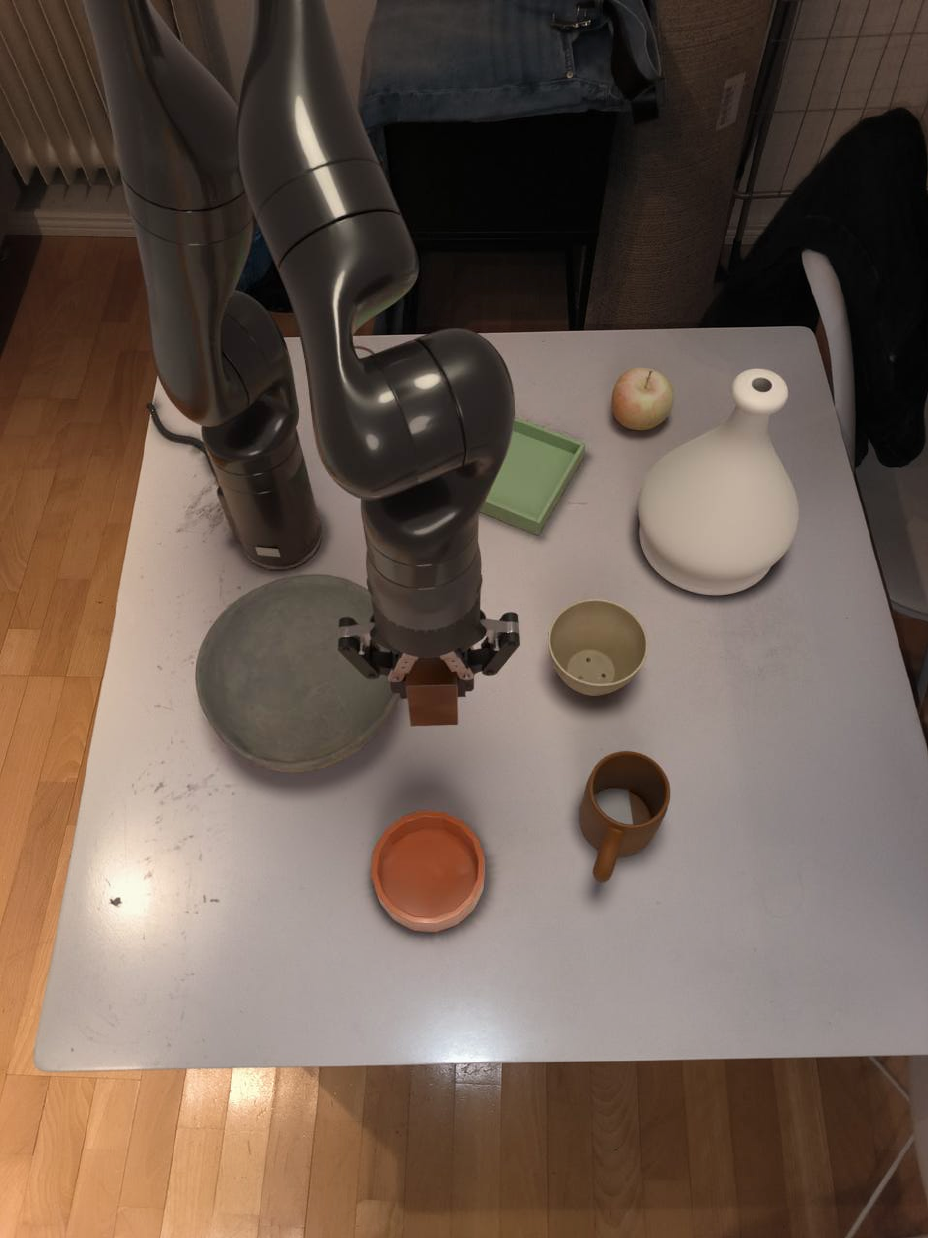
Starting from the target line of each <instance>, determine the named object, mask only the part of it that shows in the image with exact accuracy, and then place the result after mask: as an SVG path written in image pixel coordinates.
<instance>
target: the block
mask: <svg viewBox="0 0 928 1238" xmlns="http://www.w3.org/2000/svg"><path fill="white" fill-rule="evenodd" d="M406 693H407V699H406V700H407V709H408V717H409V724H410V727H437V726H439V727H440V726H441V727H442V726H458V725H459V699H458V698H459V697H458V684H457V674H456V672H451V670H450V668H449V667H448V665H447V664H446V662H445V661H444V660H437V659H426V660H416V661H415V662H414V664H413V666H412V668H411V670H410V672H409V674H408V673H406Z"/></svg>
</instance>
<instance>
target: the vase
mask: <svg viewBox="0 0 928 1238" xmlns="http://www.w3.org/2000/svg"><path fill="white" fill-rule="evenodd" d="M730 395H731V398H732V401H733V402H734V404H735V406H734V408H733V410H732V412H731V414H730V415H729V416H728V418H727V419H726V420H725V421H724V422H723V423H721V424H720V425H718V426H717V427H715V428H712V429H710V430H709V431H707V432H705V433H703V434H701V435H699V436H696V437H695V438H692V439H690V440H689V441H686V442H684V443H683V444H681V445H679V446H678V447H675V448H674V449H672V450H671V451H669V452H668V453H666V454H664V456H662V457H661V458H659V460H658V461H657V462H656V463H654V465H653V466H652V467H651V469H650V470H649V471H648V472H647V474H646V476H645V477H644V479H643V482H642V483H641V487H640V490H639V492H638V498H637V499H638V500H637V512H638V513H637V514H638V520H639V530H638V534H639V542H640V547H641V550H642V552H643V554H644V556H645V558H646V560H647V561H648V563H649V564H650V566H651V567H652V568H653V569H654V571H656V572H657V573H658V574H659V576H661V577H662V578H664V579H665V580H666V581H668V582H669V583H670V584H673V585H675V586H676V587H678V588H681V589H683V590H685V591H688V592H691V593H695V594H699V595H707V596H724V595H725V596H726V595H731V594H735V593H736V594H737V593H739V592H742V591H745V590H747V589H749V588H751V587H753V586H754V585H756V584H757V583H758V582H760V581H761V580H762V579H763V578H764V577H765V576H766V575H767V574H768V572H769V571H770V569H771V567H772V566H774V565H775V564H776V563H777V562H778V561H779V560H780V559H781V558H782V557H783V556H784V555H785V554H786V553H787V551H789V549H790V547H791V546H792V544H793V542H794V540H795V537H796V535H797V531H798V526H799V521H800V510H799V502H798V498H797V493H796V491H795V487H794V485H793V482H792V480H791V478H790V477H789V474H788V472H787V470H786V468H785V467H784V465H783V463H782V461H781V459H780V458H779V456H778V454H777V451H776V450H775V447H774V446H773V444H772V441H771V439H770V436H769V422H770V417H771V415H773V414H775V413H778V412H779V411H780V410H782V408H784V406H785V405H786V403H787V401H788V397H789V388H788V386H787V383H786V381H785V380H784V379H783V378H782V377H781V376H780V375H779V374H778V373H776V372H774V371H773V370H769V369H765V368H751V369H750V368H749V369H746V370H744V371H742V372H740V373H738V375H737V376H736V377H735V378H734V379H733V381H732V383H731V388H730Z"/></svg>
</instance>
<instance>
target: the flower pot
mask: <svg viewBox="0 0 928 1238" xmlns="http://www.w3.org/2000/svg"><path fill="white" fill-rule="evenodd" d="M547 635H548V636H547V646H548V654H549V656H550V660H551V663H552V666H553V667H554V670H555V672H556V673H557V675H558V676H559V678H560V679H561V680H562V681H563V682H564V683H565V685H567V686H568V687H569V688H570V689H572V690H574V691H575V692H577V693H579V694H582V695H585V696H591V697H592V696H593V697H594V696H595V697H597V696H599V697H600V696H604V695H609V694H611V693H613V692H616V691H617V690H620V689H621V688H623V687H624V686H626V685H627V684H628V683H630V682H631V681H632V680H633V679H634V677H635V676H636V675H637V674H638V673H639V671H640V670H641V668H642V667H643V665H644V664H645V661H646V660H647V655H648V651H649V639H648V635H647V632H646V629H645V627H644V624H643V623H642V621H641V620H640V618H638V616H637V615H636V614H634V612H632V611H631V610H630V609H629V608H627V607H626V606H624V605H622V604H621V603H618V602H615V601H612V600H608V599H603V598H588V599H582V600H579V601H575V602H573V603H570V604H569V605H567V606H566V607H564V608H563V609H561V610H560V611H559V612H558V614H556V616H555V617H554V618H553V620H552V622H551V625H550V626H549V630H548V634H547Z"/></svg>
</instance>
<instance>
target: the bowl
mask: <svg viewBox="0 0 928 1238" xmlns="http://www.w3.org/2000/svg"><path fill="white" fill-rule="evenodd" d="M373 614H374V612H373V606H372V600H371V595H370V593H369V590H368V588H366V587H365V586H362V585H361V584H358V583H357V582H354V581H352V580H349V579H347V578H344V577H340V576H336V575H331V574H317V573H312V574H310V573H309V574H300V575H293V576H287V577H283V578H278V579H275V580H272V581H270V582H269V581H268V582H267V583H264V584H262V585H259V586H257V587H255V588H254V589H251V590H249V591H248V592H247V593H245V594H243V595H242V596H241V597H238V598H237V599H235V600H234V601H233V602H232V603H231V604H230V605H228V607H227V608H226V609H224V610H223V611H222V612H221V613H220V615H219V616H218V617H217V618H216V620H215V621H214V622H213V624H211V627H210V628H209V630H207V633H206V635H205V636H204V638H203V640H202V643H201V645H200V646H199V650H198V654H197V658H196V663H195V670H194V672H195V675H194V679H195V680H194V681H195V688H196V693H197V699H198V701H199V705H200V708H201V710H202V713H203V714H204V716H205V718H206V720H207V722H208V723H209V725H210V726H211V728H212V729H213V731H214V732H215V733H216V735H218V737H219V738H220V739H221V740H222V742H223V743H224V744H226V745H227V747H229V748H230V749H231V750H232V751H233V752H234V753H236V754H237V755H238V756H239V757H241V758H243V759H244V760H247V761H249V762H251V763H253V764H255V765H256V766H259V767H261V768H265V769H268V770H270V771H277V772H284V773H305V772H310V771H315V770H320V769H323V768H326V767H329V766H332V765H334V764H336V763H339V762H341V761H342V760H344V759H347V758H348V757H351V756H352V755H354V754H356V753H357V752H358V751H360V749H362V748H363V747H364V746H365V745H367V744H368V743H369V742H370V741H371V740H372V739H373V738H374V737H375V736H376V735H377V734H378V732H380V731H381V729H382V728H383V727H384V725H385V724H386V722H387V721H388V719H389V718H390V716H391V715H392V713H393V711H394V710H395V708H396V706H397V704H398V702H399V700H400V693H396V694H394V693H393V692H392V691H391V685H390V681H389V680H388V676H386V675H380V677H379V678H377V679H367V678H365V677H364V676H363V675H362V674H361V673H360V672H359V671H358V670H357V669H356V668H355V667H354V666H353V665H352V664H351V663H350V662H349V661H348V660H347V659H346V658H345V657H344V656H343V655H342V654H341V653H340V652H339V651H338V629H339V619H340V618H343V617H350V618H353V619H354V620H355V621H356V622H357V623H358V624H362V623H367V622H370V619H371V616H372V615H373ZM376 644H377V643H376ZM377 645H378V646H379V647H380V651H382V652H388V649H386V648H384V647H382V646H381V645H379V644H377Z"/></svg>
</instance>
